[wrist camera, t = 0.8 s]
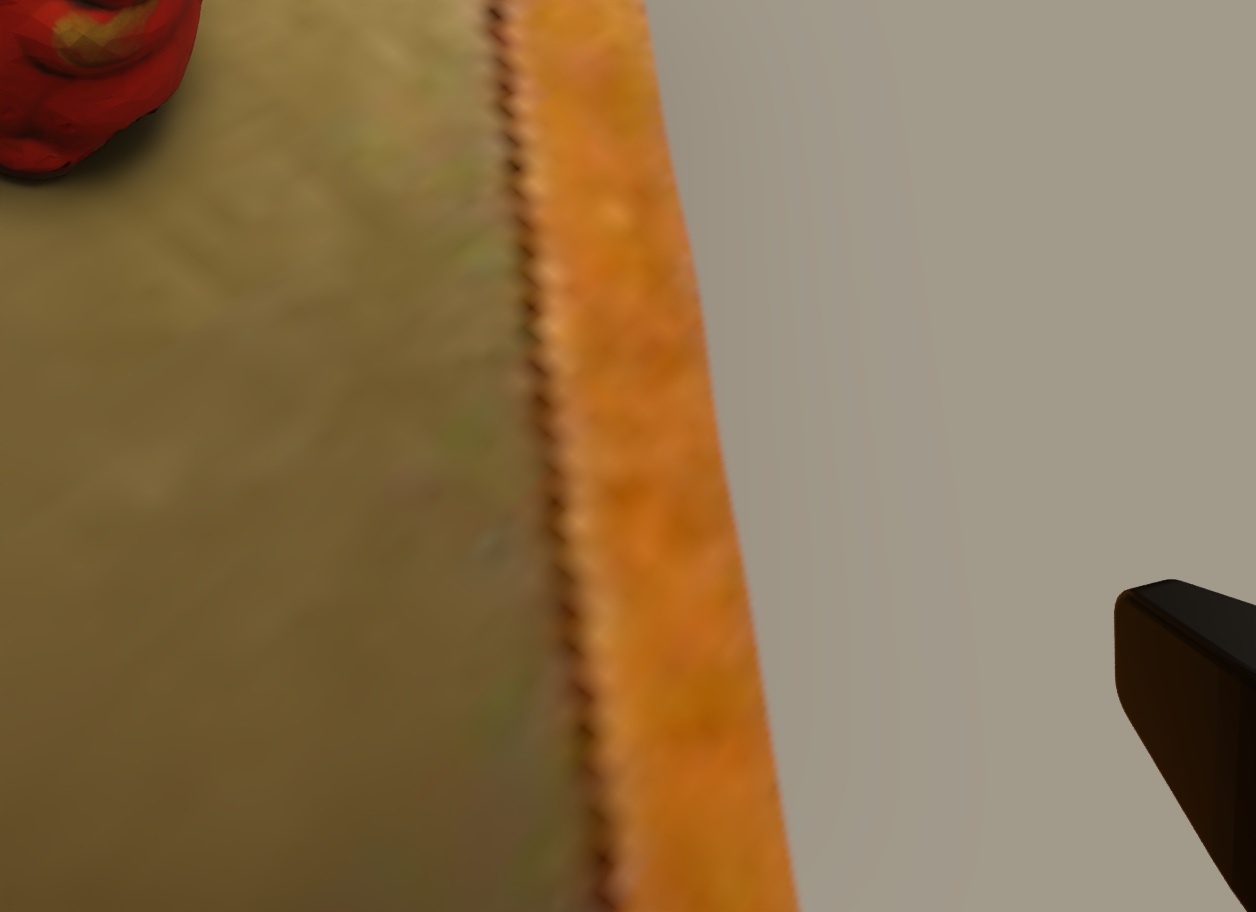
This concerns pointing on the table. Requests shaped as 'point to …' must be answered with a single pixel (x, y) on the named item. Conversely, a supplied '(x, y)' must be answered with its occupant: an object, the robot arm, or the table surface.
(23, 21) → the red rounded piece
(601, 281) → the table surface
